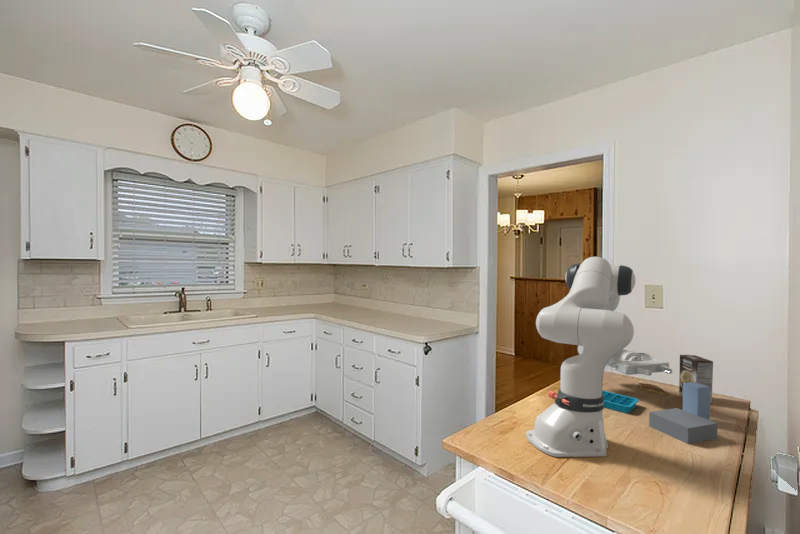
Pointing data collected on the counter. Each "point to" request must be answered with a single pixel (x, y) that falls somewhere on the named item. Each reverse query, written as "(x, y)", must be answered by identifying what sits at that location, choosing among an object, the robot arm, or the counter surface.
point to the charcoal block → (683, 425)
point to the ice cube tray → (619, 402)
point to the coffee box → (695, 372)
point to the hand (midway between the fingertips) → (660, 372)
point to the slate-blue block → (696, 399)
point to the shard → (652, 388)
